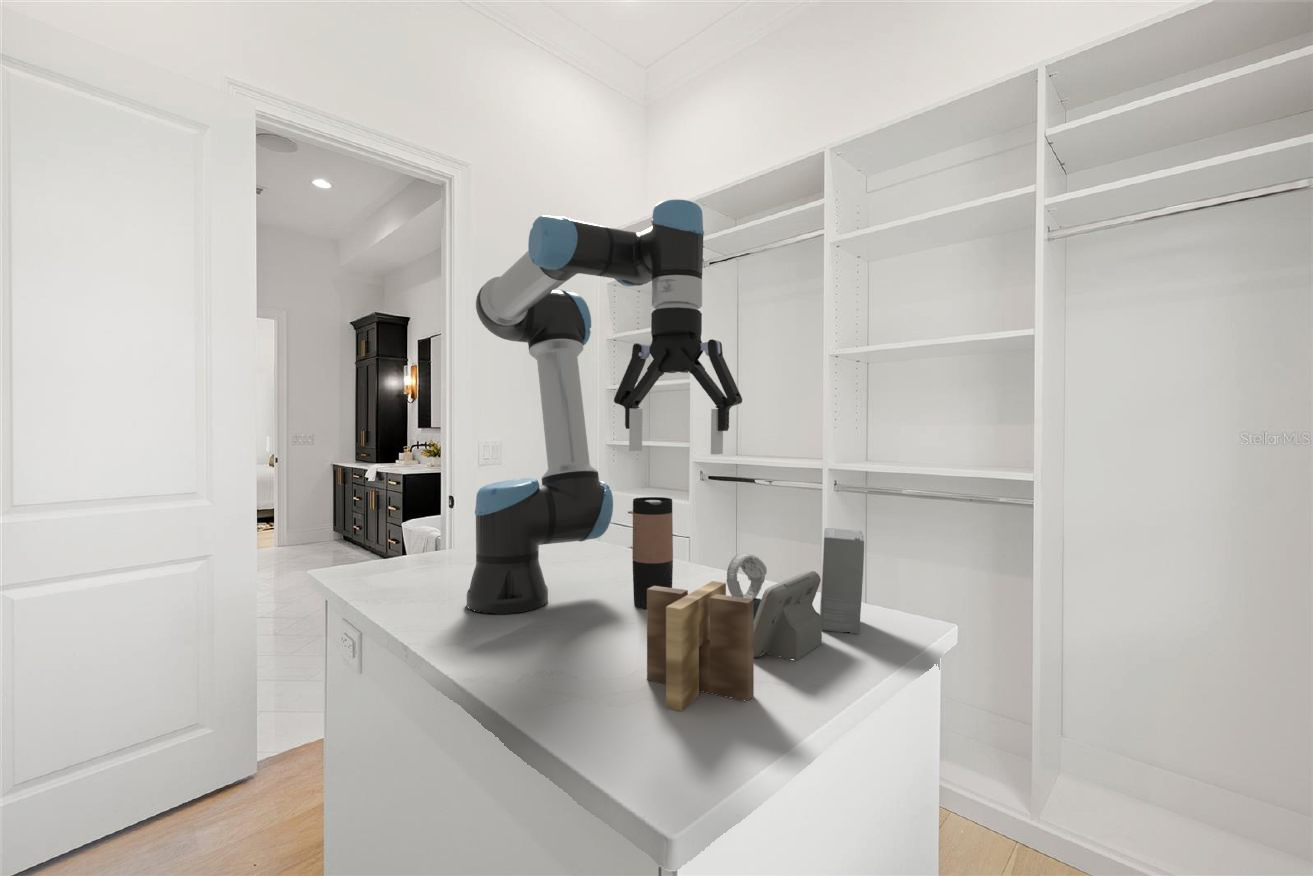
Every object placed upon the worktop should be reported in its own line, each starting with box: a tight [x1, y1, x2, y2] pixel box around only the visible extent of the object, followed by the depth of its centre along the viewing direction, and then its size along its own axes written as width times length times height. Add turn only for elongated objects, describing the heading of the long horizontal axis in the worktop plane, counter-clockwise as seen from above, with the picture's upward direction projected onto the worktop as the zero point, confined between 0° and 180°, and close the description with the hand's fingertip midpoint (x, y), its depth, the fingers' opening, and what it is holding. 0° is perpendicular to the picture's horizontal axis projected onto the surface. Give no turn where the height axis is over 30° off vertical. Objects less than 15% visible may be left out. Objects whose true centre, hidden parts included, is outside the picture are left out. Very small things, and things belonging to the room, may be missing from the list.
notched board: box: [665, 580, 727, 712], centre depth 78 cm, size 14×2×12 cm, turn 152°
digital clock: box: [754, 570, 823, 661], centre depth 93 cm, size 16×9×11 cm, turn 130°
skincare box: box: [819, 527, 865, 635], centre depth 103 cm, size 8×7×16 cm
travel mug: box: [632, 496, 674, 611], centre depth 115 cm, size 8×8×20 cm
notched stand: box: [646, 586, 755, 702], centre depth 78 cm, size 14×2×12 cm, turn 62°
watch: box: [725, 553, 768, 619], centre depth 108 cm, size 6×8×11 cm
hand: (674, 452), depth 92 cm, fingers open, 13 cm apart
